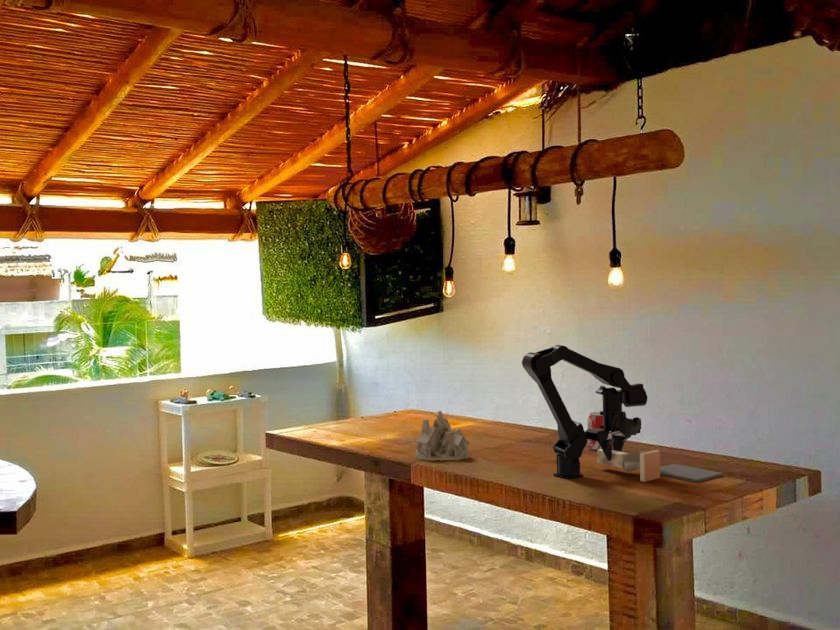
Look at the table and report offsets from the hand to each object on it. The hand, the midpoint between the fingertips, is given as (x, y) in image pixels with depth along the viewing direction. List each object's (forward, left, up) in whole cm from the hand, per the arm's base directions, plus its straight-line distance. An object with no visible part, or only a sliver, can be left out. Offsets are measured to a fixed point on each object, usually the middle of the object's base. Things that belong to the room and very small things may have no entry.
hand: (613, 459), depth 268 cm
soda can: (-25, +21, -4) cm, 33 cm away
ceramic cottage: (-53, -25, -4) cm, 58 cm away
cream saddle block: (+2, 0, -2) cm, 3 cm away
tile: (+14, 0, -4) cm, 14 cm away
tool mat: (+17, +12, -4) cm, 21 cm away
